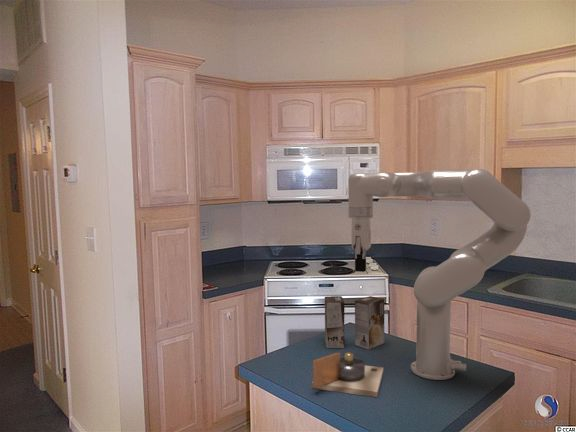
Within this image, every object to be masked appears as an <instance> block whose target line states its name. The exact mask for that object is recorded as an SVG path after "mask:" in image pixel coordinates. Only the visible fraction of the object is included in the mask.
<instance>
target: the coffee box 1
mask: <svg viewBox="0 0 576 432" xmlns="http://www.w3.org/2000/svg"><path fill="white" fill-rule="evenodd" d="M345 304H346V302H345V300H344V299H343V296H342V295H335V296H333V295H331V296H324V341H325V347H326V349H344V348H345Z"/></svg>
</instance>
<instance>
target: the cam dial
mask: <svg viewBox="0 0 576 432" xmlns="http://www.w3.org/2000/svg"><path fill="white" fill-rule="evenodd" d="M365 365H366V364H365V362H364V361H362V360H361V359H359V358H354V352H349V351H347V352H345V353H344V357H341V353H340V352H334V353H331V354H327V355H326V356H322V357H319V358H316V359H314V360H312V381H313V386H314V387H316V388H317V387H319V386H322V385H324V384H327V383H330V382H332V381H335V380H338V379H341V380H345V381H356V380H360V379H362V378H363V377H364V376H365Z"/></svg>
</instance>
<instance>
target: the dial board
mask: <svg viewBox="0 0 576 432" xmlns="http://www.w3.org/2000/svg"><path fill="white" fill-rule="evenodd" d="M383 376H384V367H381V366H374V365H373V366H372V365H366V364H365V376H364V377H363V378H362V379H360V380H356V381H345V380H341V379H338V380H335V381H332V382H330V383H327V384H324V385H322V386H319V387H317V388H316V387H314V386H313V380H312V381H311V389H315V390H323V391H329V392H336V393H337V392H338V393H344V394H351V395H359V396H366V397H372V398H378V396H379V391H380V389H381V383H382V380H383Z"/></svg>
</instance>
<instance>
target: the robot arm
mask: <svg viewBox="0 0 576 432" xmlns="http://www.w3.org/2000/svg"><path fill="white" fill-rule="evenodd" d="M347 182H348V189H347V190H348V197H347V198H348V202H347V203H348V204H347V205H348V207H347V208H348V214H347V215H348V217H347V218H349V219H351V249H352V250H353V251H354V256H355V257H354V271H355V272H358V273H359V272H362V273H365V272H366V271H367V259H366V252H367V251H368V250H369V249H370V248H371V247H372V236H371V235H372V233H371V219H373V218H374V216H373V215H374V214H373V213H374V206H373V205H374V203H373V202H374V197H376V198H377V197H378V198H388V197H389V198H390V197H418V198H424V199H429V200H464V201H465V200H470V201H471V203H472V204H473V205H475V206H476V207H477V209H479V210H480V211H481V212H482V213H484V214H485V215H486V216H487V217H488V218H490V220H491V221H492V222H493V225H492V226H491V228H490V229H489V230H487V231H486V232H485V233H483V234H481V235H480V236H479V237H477V238H476V239H474V240H473V241H471V242H470V243H467V244H466V245H464V246H463V247H461V248H458V249H456V250H455V251H454V252H453V253H451V255H450V256H449V258H448V259H446V260H445V261H443V262H441V263H440V264H439V265H436V266H428V267H426V268H424V269H423V270H422V271H420V273H419V275H418V276H417V278H416V280H415V282H414V285H413V293H414V296H415V299H416V300H417V301H416V302H417V303H416V340H415V341H416V342H415V343H416V344H415V346H416V347H415V351H416V352H415V353H416V354H415V360H414V361H413V362H411V364H410V371H411V372H412V373H413V374H414V375H416V376H418V377H421V378H424V379H427V380H432V381H445V380H449V379H451V378H453V377H454V376H455V374H456V371H455V370H458V371H464V372H467V363H462V361H461V360H454V359H452V357H451V354H450V351H451V349H450V348H451V315H452V314H451V313H452V311H451V307H452V300H454V299H455V298H457V297H458V296H460V295H462V294H463V293H465V292H467V291H469V290H471V289H472V288H473V287H475V286H476V285H478V284H479V283H480V282H481V281H482V279H483V277H484V275H485V272H486V271H487V270H489V269H490V268H491V267H493V266H495V265H496V264H498V263H499V262H501V261H502V260H504V259H505V258H507V257H508V256H510V255H511V254H513V253H514V252H515V251H516V250H517V249H518V248H519V246H520V245H521V244H522V242H523V240H524V239H525V236H526V233H527V228H528V224H529V222H530V220H531V214H532V213H531V210H530V207H529V206H528V205H527V204H526V203H525V201H523V200H522V199H521V198H519V196H517V194H515V193H514V192H512V190H510V189H509V188H508V187H507V186H505V184H503V183H502V182H501V181H500V180H499V179H497V177H495V175H493V174H492V173H491V172H490V171H488V170H486V169H483V168H476V169H430V170H426V171H425V170H424V171H419V172H387V171H382V172H376V173H375V172H374V173H365V172H364V173H363V172H361V173H352V174H350V175H348V181H347Z"/></svg>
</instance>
